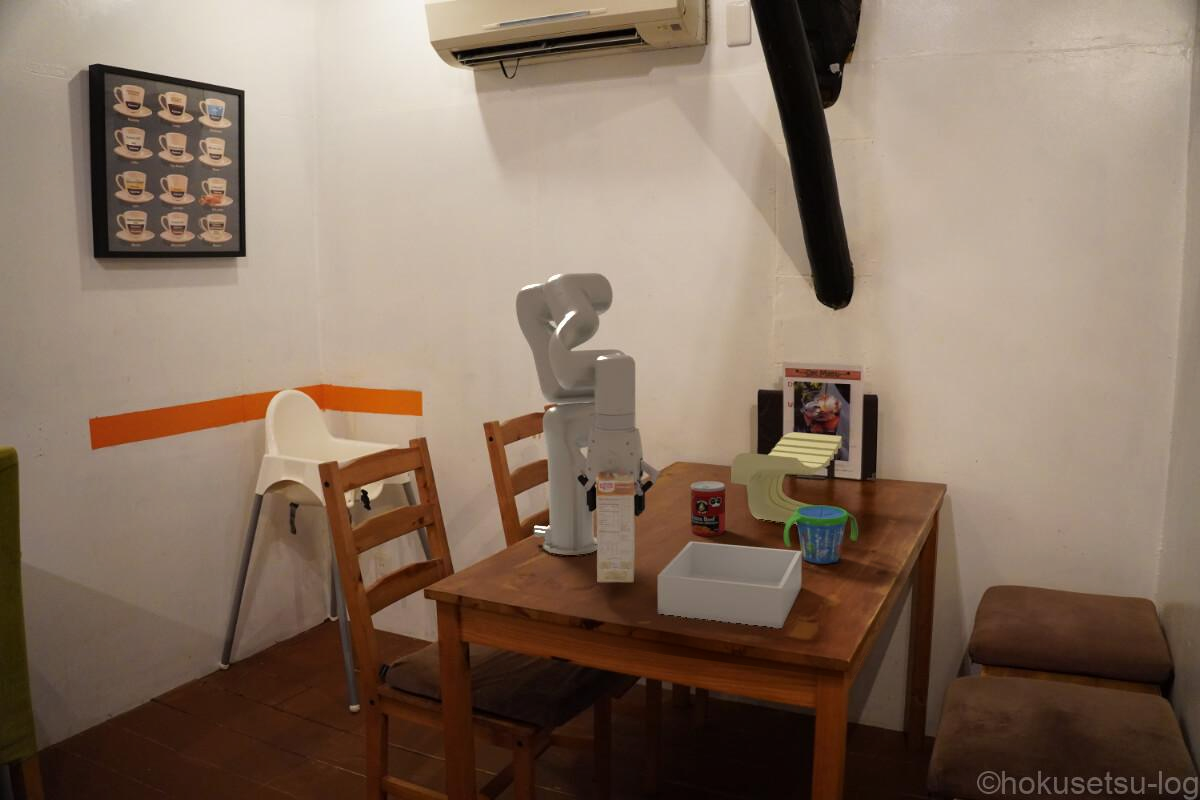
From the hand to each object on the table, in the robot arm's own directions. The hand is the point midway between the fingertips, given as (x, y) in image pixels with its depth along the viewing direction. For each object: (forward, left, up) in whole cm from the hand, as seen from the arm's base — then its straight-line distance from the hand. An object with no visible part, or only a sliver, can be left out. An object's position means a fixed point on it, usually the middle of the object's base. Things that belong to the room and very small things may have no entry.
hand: (615, 511), depth 177 cm
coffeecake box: (0, 0, -12) cm, 12 cm away
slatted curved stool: (+22, +60, -15) cm, 66 cm away
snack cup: (+34, +28, -15) cm, 47 cm away
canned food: (+7, +41, -15) cm, 45 cm away
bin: (+22, -1, -15) cm, 27 cm away
